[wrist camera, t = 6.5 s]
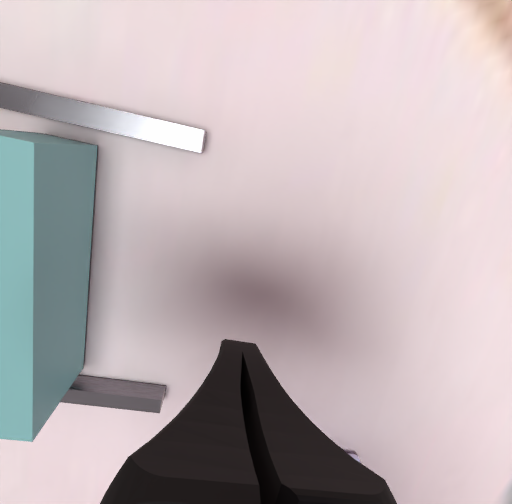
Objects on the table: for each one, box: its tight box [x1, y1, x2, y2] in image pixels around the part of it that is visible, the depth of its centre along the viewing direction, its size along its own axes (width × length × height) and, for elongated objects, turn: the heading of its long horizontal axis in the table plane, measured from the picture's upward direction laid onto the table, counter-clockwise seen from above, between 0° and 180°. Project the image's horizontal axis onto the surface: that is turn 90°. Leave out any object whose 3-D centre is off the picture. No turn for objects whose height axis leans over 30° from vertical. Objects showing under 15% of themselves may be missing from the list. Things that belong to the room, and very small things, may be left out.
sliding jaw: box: [0, 129, 97, 442], centre depth 14 cm, size 3×13×5 cm, turn 168°
